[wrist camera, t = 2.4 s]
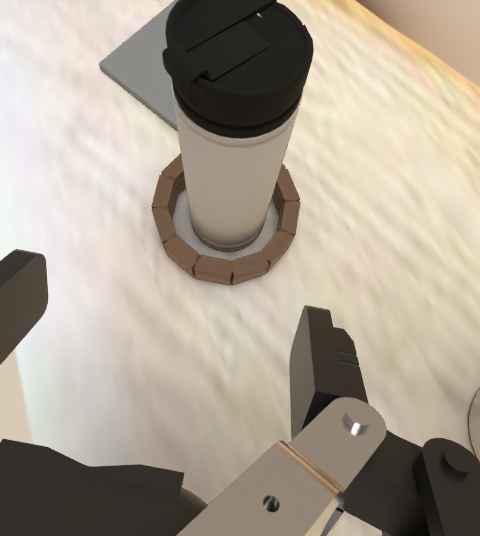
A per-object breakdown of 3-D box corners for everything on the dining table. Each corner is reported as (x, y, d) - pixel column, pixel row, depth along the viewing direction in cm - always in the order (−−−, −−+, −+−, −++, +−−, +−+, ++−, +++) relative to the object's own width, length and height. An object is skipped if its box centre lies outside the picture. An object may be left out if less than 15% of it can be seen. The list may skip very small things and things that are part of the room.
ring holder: (318, 213, 36) (327, 199, 33) (233, 311, 34) (234, 304, 31) (219, 136, 38) (219, 115, 35) (130, 223, 35) (122, 209, 32)
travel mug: (172, 214, 36) (123, 14, 16) (232, 171, 37) (251, -60, 18) (218, 269, 34) (224, 124, 15) (278, 223, 36) (352, 37, 17)
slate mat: (294, 65, 40) (296, 58, 40) (205, 153, 37) (204, 148, 37) (194, -9, 42) (194, -16, 41) (101, 69, 39) (98, 63, 38)
